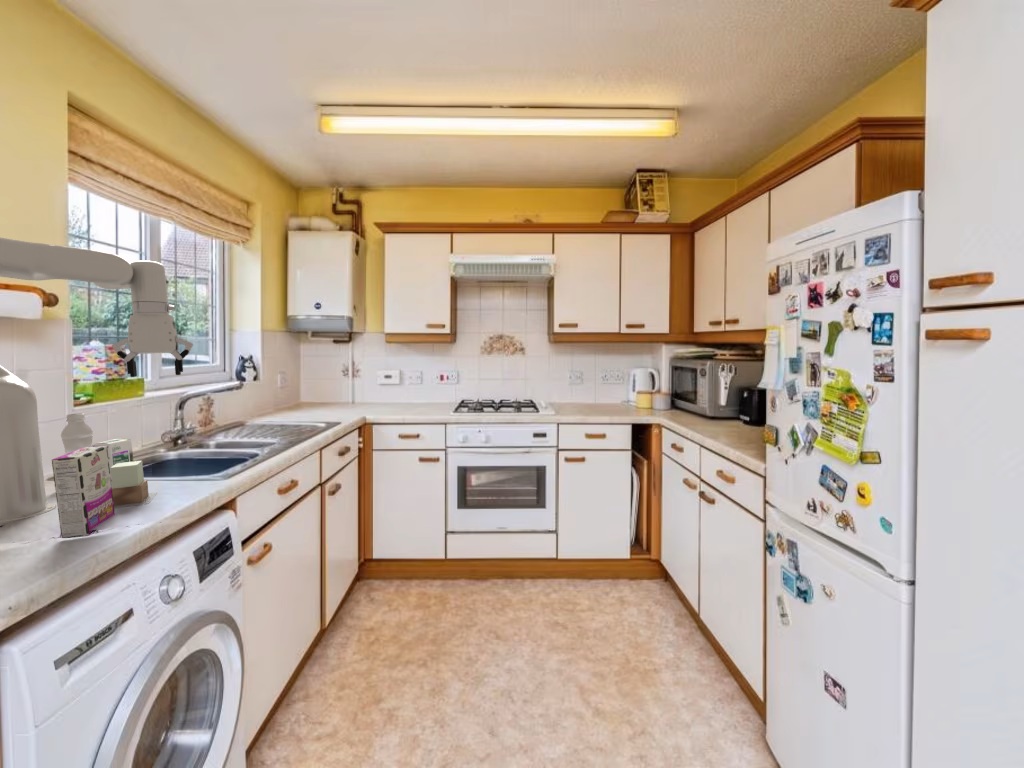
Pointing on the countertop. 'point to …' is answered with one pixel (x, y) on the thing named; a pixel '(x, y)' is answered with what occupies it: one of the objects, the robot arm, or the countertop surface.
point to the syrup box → (117, 451)
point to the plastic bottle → (76, 433)
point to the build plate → (146, 501)
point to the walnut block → (130, 494)
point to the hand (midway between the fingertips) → (156, 375)
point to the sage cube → (127, 474)
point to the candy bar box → (83, 490)
